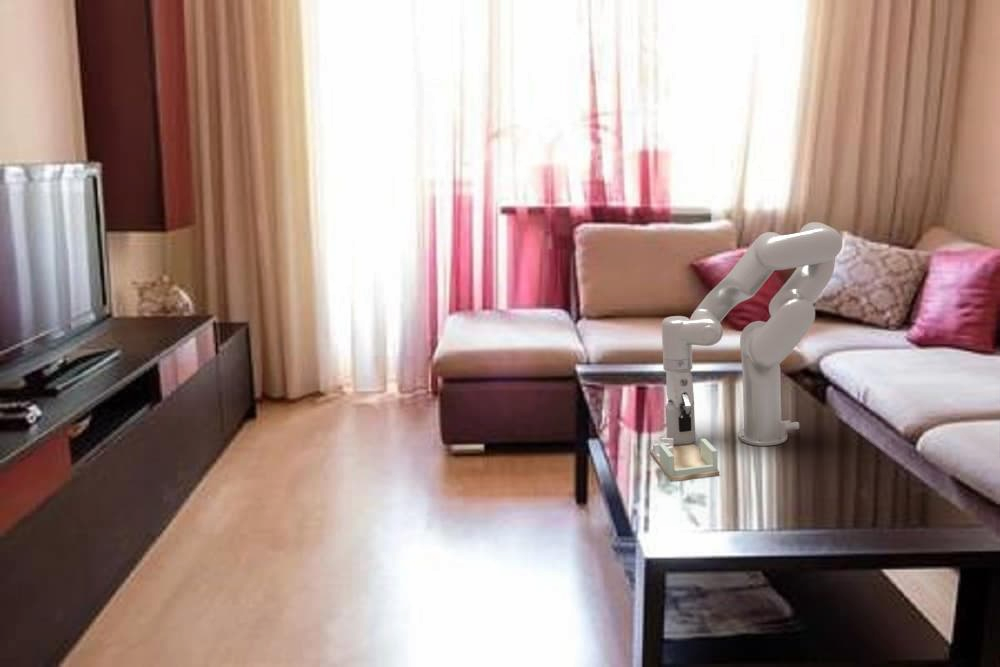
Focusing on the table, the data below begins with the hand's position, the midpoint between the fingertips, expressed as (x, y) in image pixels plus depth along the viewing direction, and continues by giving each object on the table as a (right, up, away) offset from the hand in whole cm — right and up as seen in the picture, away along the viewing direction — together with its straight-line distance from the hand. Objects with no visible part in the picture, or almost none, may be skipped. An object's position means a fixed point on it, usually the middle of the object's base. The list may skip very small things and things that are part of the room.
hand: (680, 425), depth 237 cm
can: (+1, -5, +1) cm, 5 cm away
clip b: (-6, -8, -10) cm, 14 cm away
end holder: (-2, -8, -18) cm, 20 cm away
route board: (-2, -8, -14) cm, 16 cm away
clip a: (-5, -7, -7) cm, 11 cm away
